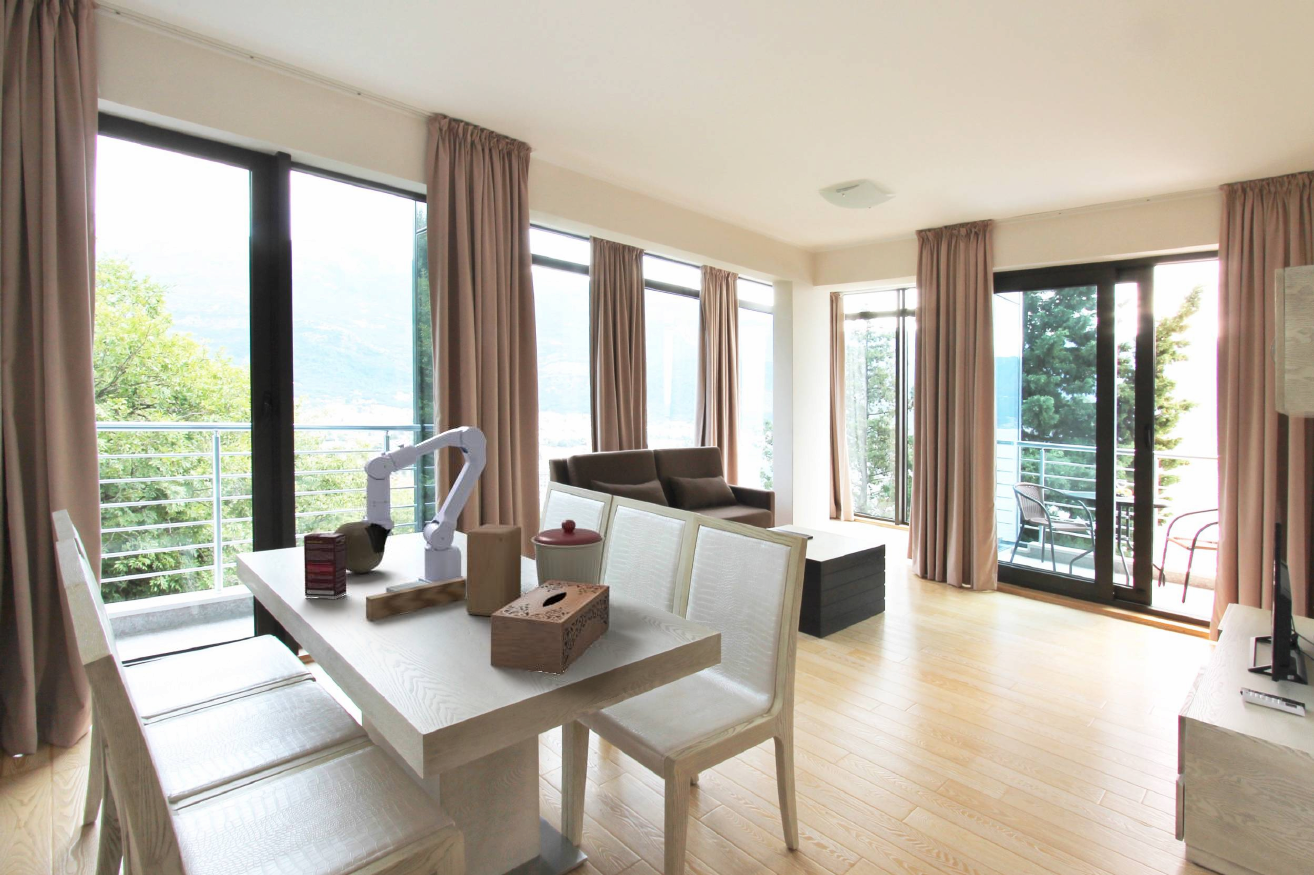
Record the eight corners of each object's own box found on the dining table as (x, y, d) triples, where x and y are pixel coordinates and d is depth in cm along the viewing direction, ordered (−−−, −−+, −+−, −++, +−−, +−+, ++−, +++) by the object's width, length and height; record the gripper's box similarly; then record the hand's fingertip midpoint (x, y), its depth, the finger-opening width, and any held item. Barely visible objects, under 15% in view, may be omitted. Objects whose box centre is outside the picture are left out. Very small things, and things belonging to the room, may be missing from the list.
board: (460, 596, 164) (460, 577, 164) (465, 598, 163) (466, 579, 162) (366, 618, 147) (365, 596, 147) (370, 621, 145) (370, 599, 145)
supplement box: (347, 594, 165) (347, 533, 164) (336, 600, 160) (335, 536, 159) (315, 592, 166) (315, 531, 165) (303, 598, 161) (302, 535, 160)
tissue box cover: (549, 623, 147) (549, 579, 146) (608, 630, 143) (609, 585, 142) (490, 666, 122) (490, 614, 121) (560, 676, 118) (561, 622, 117)
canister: (516, 602, 161) (517, 518, 160) (574, 588, 173) (575, 511, 172) (559, 620, 148) (560, 529, 147) (618, 604, 160) (620, 520, 159)
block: (421, 597, 164) (420, 580, 164) (434, 603, 159) (434, 585, 159) (386, 605, 157) (386, 587, 157) (399, 611, 153) (399, 593, 152)
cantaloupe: (376, 564, 195) (375, 515, 195) (390, 574, 184) (390, 522, 184) (325, 571, 186) (324, 520, 186) (337, 582, 175) (337, 528, 175)
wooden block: (504, 618, 148) (505, 532, 147) (464, 615, 150) (465, 530, 149) (522, 605, 158) (522, 525, 157) (484, 602, 160) (485, 523, 159)
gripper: (351, 499, 173) (351, 550, 173) (375, 506, 163) (375, 559, 163) (377, 497, 178) (377, 546, 178) (402, 503, 168) (402, 555, 169)
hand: (378, 552), depth 171 cm, fingers closed
